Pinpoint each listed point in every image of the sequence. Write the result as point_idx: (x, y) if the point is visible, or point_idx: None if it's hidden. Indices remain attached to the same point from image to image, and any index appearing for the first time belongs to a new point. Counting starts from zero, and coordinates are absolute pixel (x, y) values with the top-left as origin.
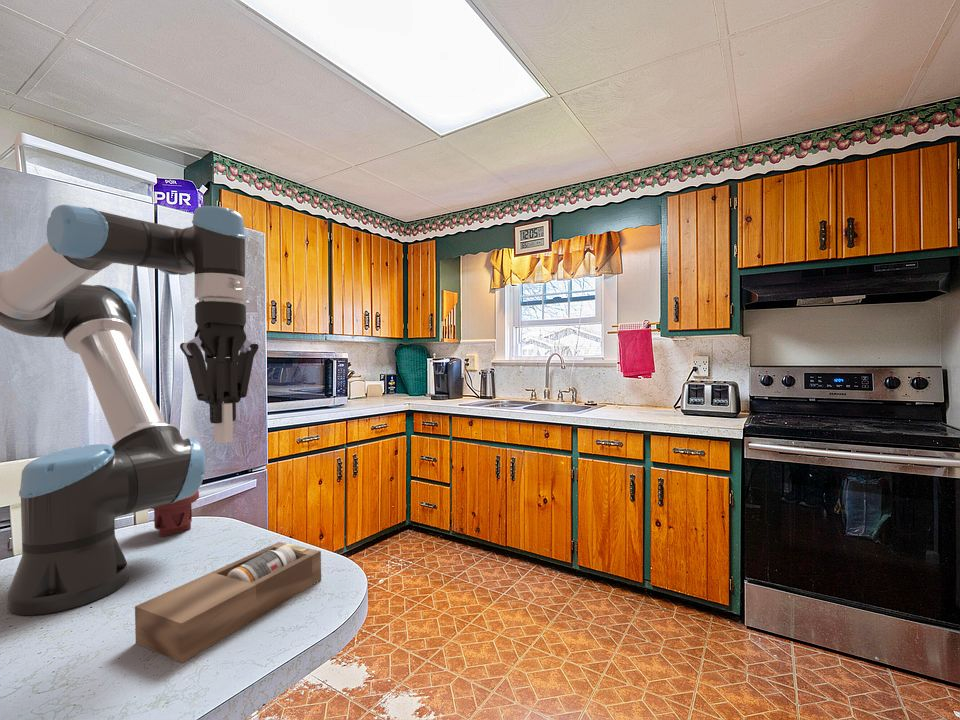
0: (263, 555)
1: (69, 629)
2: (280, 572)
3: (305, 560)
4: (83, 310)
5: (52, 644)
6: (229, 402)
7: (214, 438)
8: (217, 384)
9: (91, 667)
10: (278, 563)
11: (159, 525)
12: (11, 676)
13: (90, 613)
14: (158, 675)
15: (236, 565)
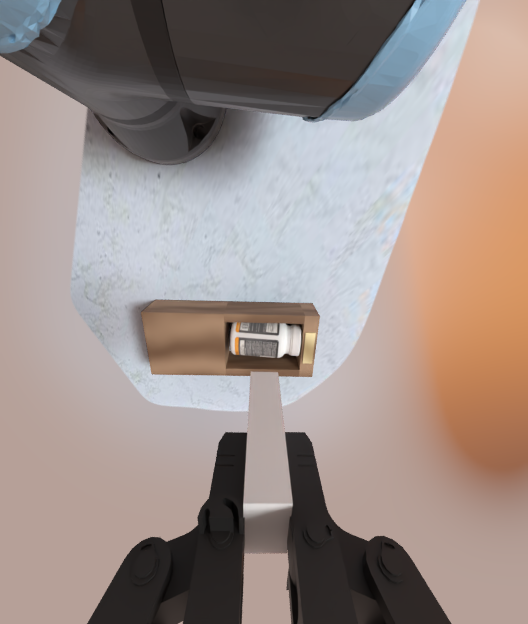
0: (266, 348)
1: (127, 211)
2: None
3: (288, 375)
4: None
5: (109, 227)
6: (287, 547)
7: (250, 380)
8: None
9: (121, 300)
10: (272, 357)
11: None
12: (75, 252)
13: (152, 193)
14: (147, 353)
15: (249, 322)
